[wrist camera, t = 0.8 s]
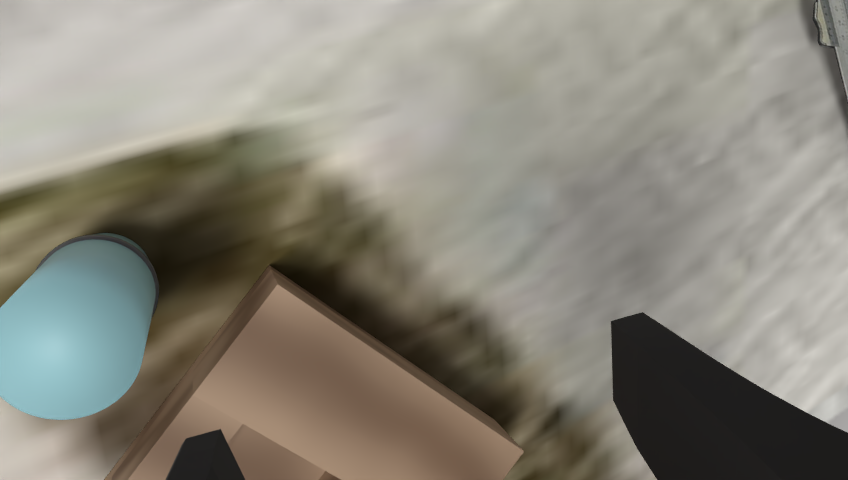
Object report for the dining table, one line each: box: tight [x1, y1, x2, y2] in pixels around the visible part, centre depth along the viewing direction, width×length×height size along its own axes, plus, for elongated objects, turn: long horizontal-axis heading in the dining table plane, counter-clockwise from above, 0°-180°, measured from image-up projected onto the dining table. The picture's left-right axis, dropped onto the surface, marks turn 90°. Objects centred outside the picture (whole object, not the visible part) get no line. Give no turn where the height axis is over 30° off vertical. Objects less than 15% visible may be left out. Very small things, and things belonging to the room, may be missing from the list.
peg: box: [0, 233, 159, 420], centre depth 23 cm, size 4×4×9 cm
